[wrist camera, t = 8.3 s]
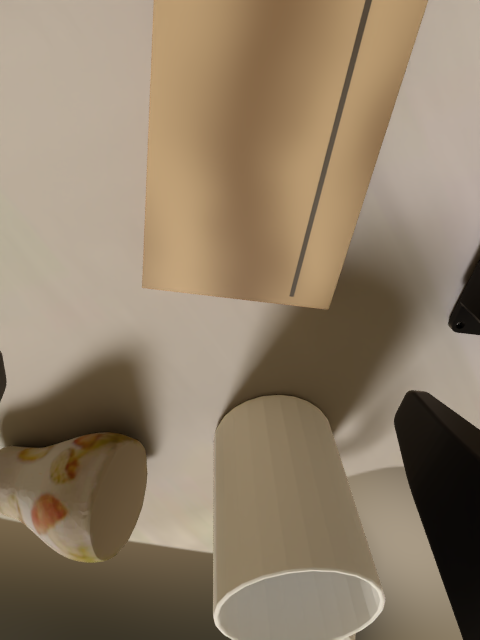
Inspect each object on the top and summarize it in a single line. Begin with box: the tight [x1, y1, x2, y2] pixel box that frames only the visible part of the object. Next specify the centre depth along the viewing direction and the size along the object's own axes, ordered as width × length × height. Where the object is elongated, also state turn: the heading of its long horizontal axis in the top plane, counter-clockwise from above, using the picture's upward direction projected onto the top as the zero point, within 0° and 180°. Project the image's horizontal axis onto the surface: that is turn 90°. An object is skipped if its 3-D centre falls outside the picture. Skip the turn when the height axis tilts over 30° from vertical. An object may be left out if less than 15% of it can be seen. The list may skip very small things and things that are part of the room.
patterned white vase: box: [0, 432, 147, 562], centre depth 25 cm, size 8×10×10 cm
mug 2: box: [213, 395, 386, 640], centre depth 24 cm, size 12×8×10 cm, turn 27°
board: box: [142, 0, 428, 310], centre depth 14 cm, size 9×22×2 cm, turn 171°
